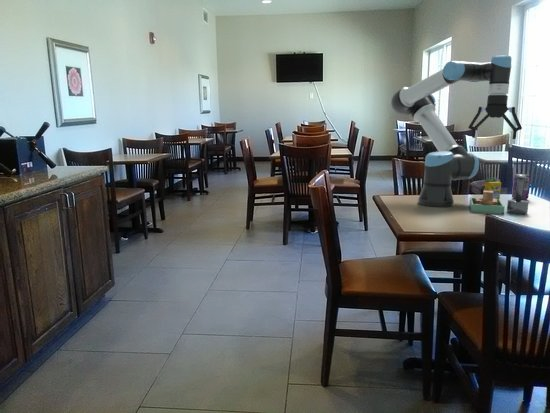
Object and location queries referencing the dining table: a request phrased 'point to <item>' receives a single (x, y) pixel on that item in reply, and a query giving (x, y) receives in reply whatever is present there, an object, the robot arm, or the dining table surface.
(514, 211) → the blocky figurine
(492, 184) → the crayon box
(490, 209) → the tray
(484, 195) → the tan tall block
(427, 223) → the dining table surface
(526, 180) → the beverage can
